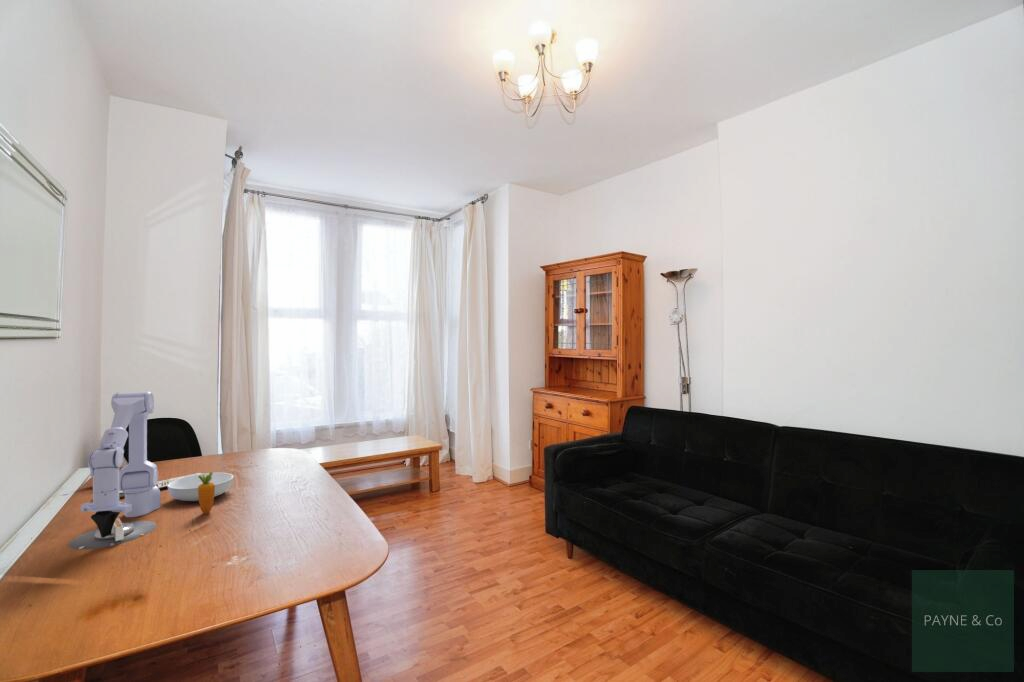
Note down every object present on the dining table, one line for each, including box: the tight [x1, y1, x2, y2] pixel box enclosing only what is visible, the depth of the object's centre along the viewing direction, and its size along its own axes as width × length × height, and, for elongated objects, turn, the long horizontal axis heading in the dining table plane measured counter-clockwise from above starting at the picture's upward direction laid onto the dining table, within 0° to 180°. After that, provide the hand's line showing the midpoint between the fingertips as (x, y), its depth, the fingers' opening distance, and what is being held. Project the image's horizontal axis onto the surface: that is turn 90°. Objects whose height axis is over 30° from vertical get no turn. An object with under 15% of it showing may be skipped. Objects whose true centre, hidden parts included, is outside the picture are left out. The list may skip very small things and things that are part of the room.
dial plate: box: [68, 520, 157, 551], centre depth 134 cm, size 20×20×1 cm
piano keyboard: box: [119, 472, 203, 499], centre depth 180 cm, size 35×12×4 cm, turn 142°
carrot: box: [198, 471, 215, 515], centre depth 150 cm, size 5×5×15 cm
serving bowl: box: [167, 472, 234, 502], centre depth 169 cm, size 21×21×7 cm
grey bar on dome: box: [95, 517, 134, 541], centre depth 133 cm, size 14×9×5 cm, turn 49°
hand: (106, 536), depth 128 cm, fingers closed
